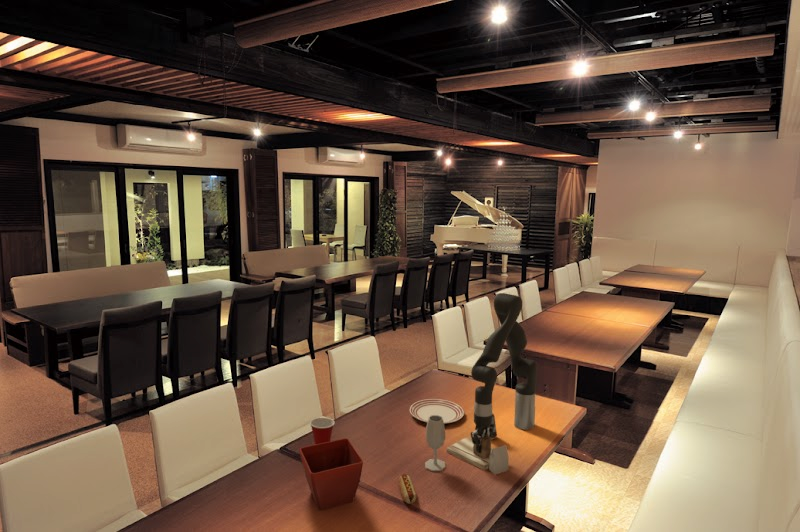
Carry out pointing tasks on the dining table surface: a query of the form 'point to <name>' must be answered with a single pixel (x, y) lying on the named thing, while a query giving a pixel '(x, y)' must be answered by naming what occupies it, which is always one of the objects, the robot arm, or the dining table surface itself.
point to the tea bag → (499, 460)
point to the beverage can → (494, 427)
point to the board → (468, 453)
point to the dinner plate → (436, 410)
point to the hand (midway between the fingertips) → (482, 450)
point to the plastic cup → (322, 429)
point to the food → (407, 489)
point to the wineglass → (435, 441)
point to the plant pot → (332, 472)
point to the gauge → (484, 447)
